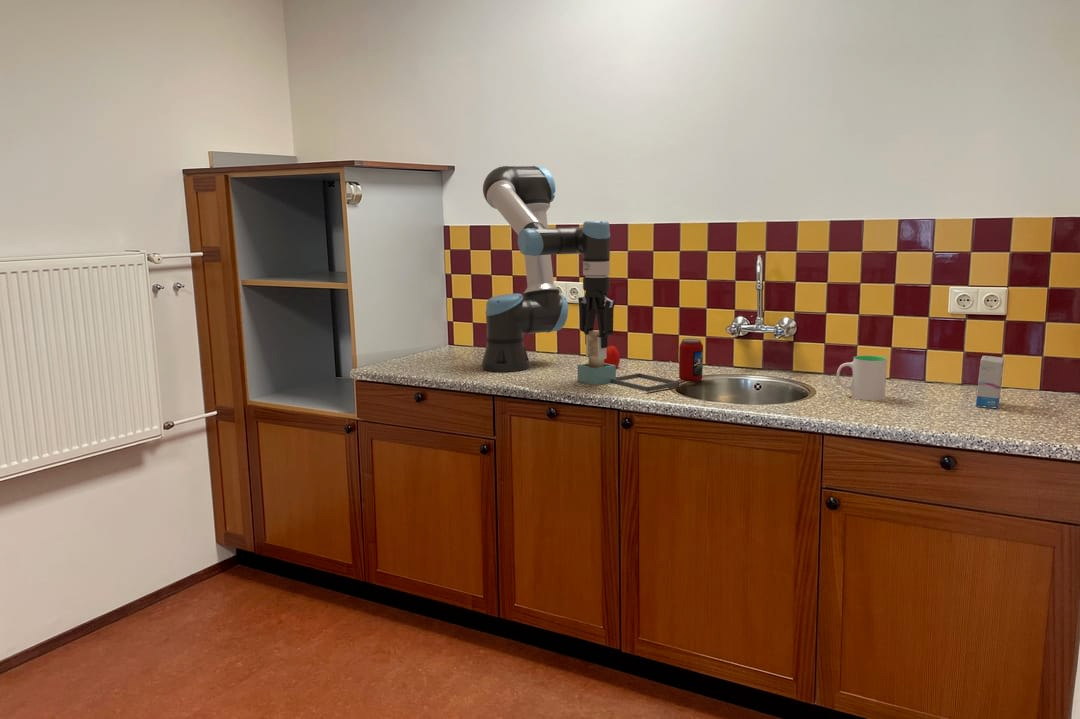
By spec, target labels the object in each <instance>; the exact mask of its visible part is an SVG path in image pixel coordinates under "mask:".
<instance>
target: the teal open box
mask: <svg viewBox="0 0 1080 719" xmlns="http://www.w3.org/2000/svg"><path fill="white" fill-rule="evenodd" d="M576 368H577V382H580V383H583V384H588V385H592V386H598V385H606V384H610V383H611V379H615V380H616V377H617V376H616V375H617V368H616V365H611V364H606V363H604V367H599V368H592V367H589V362H588V363H581V364H577V367H576ZM611 384H612V383H611Z"/></svg>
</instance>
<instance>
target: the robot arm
mask: <svg viewBox="0 0 1080 719" xmlns="http://www.w3.org/2000/svg"><path fill="white" fill-rule="evenodd" d="M482 193H483V198H484V199H485V201H486V202H487V204H488V205H489V206H490V207H491V208H492V209H496V210H497V211H498V212H499V213H500V214H501V216H502V217H503V218H504V220H505V221H506V222H507V223H508V225H509V226H510V227H511V229H512V230H513V231H514V232H515V233H516V234H517V246H518V250H519V252H520V253H521V254H522V255H524V256H523V257H524V264H525V265H524V266H525V274H526V283H527V284H526V285H527V287H526V289H525V290H524V292H523V294H522V293H506V294H499V295H496V296H492V297H490V298H488V299H487V301H486V303H485V304H486V307H485V308H486V309H485V320H486V321H485V322H486V346H485V351H484V353H483V358H482V359H481V360H482V362H481V367H482V368H481V369H482V370H484V371H489V372H496V373H498V372H499V373H503V372H504V373H508V372H519V371H523V370H524V371H525V370H527V369H529V368H530V360H529V357H528V352H527V351H526V347H525V345H524V335H525V334H527V335H528V334H529V335H530V334H537V333H538V334H539V333H551V332H557V331H560V330H562V329H563V327H564V326H565V324H566V322H567V319H568V316H569V315H568V314H569V304H568V300H567V297H565V296H564V295H563V294H560V288H558V287H557V286H556V285H555V283H554V274H553V265H552V264H553V263H552V256H553V255H573V254H574V255H582V275H583V276H584V277H583V278H582V290H584V292H585V293H584V296H580V297H578V304H579V330H580V332H583V334H584V335H585V336H584V340H585V341H584V343H585V346H586V347H585V353H586V354H585V357H586V358H589V331H593V330H594V328H595V322H596V319H597V327H598V330H599V334H600V335H598V360H602V359H606V352H607V347H608V346H609V344H608V343H609V342H608V337H609V336H611V335H613V334H614V308H615V304H616V301H615V300H614V299H613V300H612V299H610V298H609V296H608V291H609V290H610V289H611V288H610V287H611V280H610V279H611V278H610V277H609V276H610V274H611V262H610V261H611V258H610V257H611V256H610V255H611V254H610V253H611V232H610V231H611V230H610V222H609V221H607V220H585V221H584V222H583V224H582V227H580V226H576V227H575V226H572V227H548V217H547V216H548V215H547V211H548V210H549V209H550V207H551V203H552V202H553V201H554V199H555V198H556V197H555V196H556V182H555V179H554V177H553V174H552V173H551V171H549V169H548V168H546V167H544V166H536V165H531V166H515V165H513V166H511V165H510V166H509V165H503V166H502V165H501V166H499V167H495V168H494V169H493V170H491V171H490V172H489V173H488V174H487V176H486V177H485V179H484V182H483V184H482ZM603 331H604V332H603Z"/></svg>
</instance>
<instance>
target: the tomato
mask: <svg viewBox="0 0 1080 719" xmlns="http://www.w3.org/2000/svg"><path fill="white" fill-rule="evenodd" d="M620 356H621V354H620V352H619V350H618V349H617V347H616V346H615V345H608V346H607V352H606V359H604V363H606V364H611V365H616V369H617V368H618V367H619V365H620V363H621V357H620Z"/></svg>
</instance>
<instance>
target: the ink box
mask: <svg viewBox="0 0 1080 719" xmlns="http://www.w3.org/2000/svg"><path fill="white" fill-rule="evenodd" d="M1004 363H1005V358H1004V357H1001V356H1000V357H999V356H992V355H982V356H981V359H980V365H979V373H978V381H977V390H976V401H975V407H976V406H986V407H996V408H997V407H998V408H999V404H1000V399H1001V391H1002V383H1003V374H1004V365H1005V364H1004ZM998 408H997V409H998Z"/></svg>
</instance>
